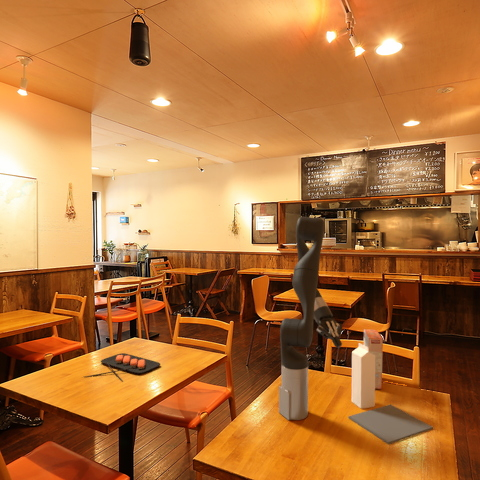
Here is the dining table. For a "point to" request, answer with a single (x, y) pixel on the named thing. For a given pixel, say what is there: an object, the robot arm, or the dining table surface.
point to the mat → (390, 423)
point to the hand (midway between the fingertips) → (339, 346)
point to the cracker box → (375, 353)
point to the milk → (363, 377)
